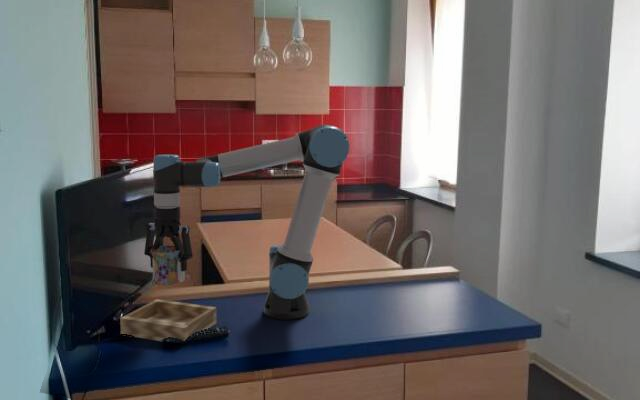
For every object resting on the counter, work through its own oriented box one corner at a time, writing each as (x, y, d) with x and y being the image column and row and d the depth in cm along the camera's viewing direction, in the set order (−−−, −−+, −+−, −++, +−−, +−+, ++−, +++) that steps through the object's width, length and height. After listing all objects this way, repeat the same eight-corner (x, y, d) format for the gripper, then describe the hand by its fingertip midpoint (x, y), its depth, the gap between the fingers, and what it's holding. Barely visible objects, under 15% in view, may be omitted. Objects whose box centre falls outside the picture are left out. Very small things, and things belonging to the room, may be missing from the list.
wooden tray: (216, 322, 193) (216, 307, 192) (185, 345, 175) (184, 327, 174) (156, 314, 199) (156, 299, 199) (120, 334, 182) (120, 318, 181)
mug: (183, 286, 181) (183, 251, 179) (151, 288, 178) (150, 253, 176) (180, 275, 192) (179, 242, 190) (149, 277, 189) (149, 244, 187)
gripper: (204, 206, 181) (205, 280, 185) (144, 202, 188) (146, 272, 191) (191, 210, 174) (192, 286, 178) (130, 205, 181) (132, 279, 184)
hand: (168, 279), depth 185 cm, fingers closed on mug, 8 cm apart
